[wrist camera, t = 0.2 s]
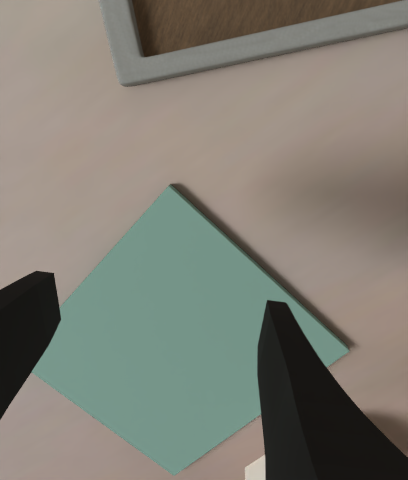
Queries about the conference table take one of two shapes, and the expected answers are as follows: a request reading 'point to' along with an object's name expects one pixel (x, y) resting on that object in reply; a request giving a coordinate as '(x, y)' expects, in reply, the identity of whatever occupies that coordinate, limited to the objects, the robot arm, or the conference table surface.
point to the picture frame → (232, 31)
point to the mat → (171, 335)
